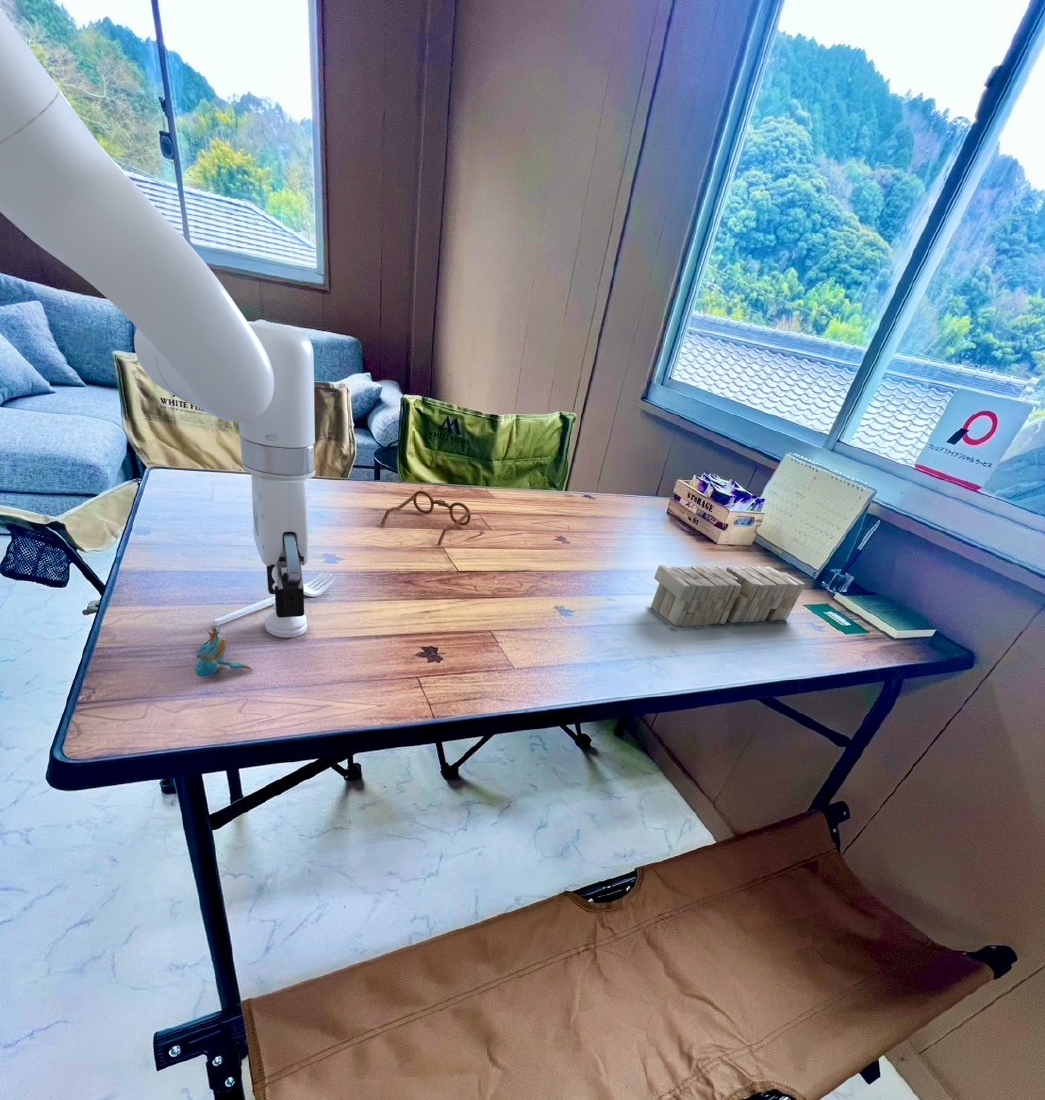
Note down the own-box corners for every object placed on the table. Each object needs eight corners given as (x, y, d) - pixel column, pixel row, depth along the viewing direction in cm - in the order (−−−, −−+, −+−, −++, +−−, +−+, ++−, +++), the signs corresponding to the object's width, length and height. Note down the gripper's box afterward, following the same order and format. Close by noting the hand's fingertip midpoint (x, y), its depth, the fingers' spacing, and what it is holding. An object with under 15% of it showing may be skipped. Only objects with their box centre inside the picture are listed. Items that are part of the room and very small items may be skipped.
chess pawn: (259, 622, 76) (255, 558, 71) (298, 616, 79) (296, 554, 74) (274, 641, 73) (270, 575, 68) (313, 634, 76) (312, 570, 71)
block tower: (757, 605, 117) (642, 605, 104) (776, 566, 113) (658, 561, 99) (786, 624, 112) (668, 627, 98) (807, 584, 107) (686, 581, 94)
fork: (205, 622, 74) (203, 609, 73) (322, 580, 89) (322, 568, 88) (223, 632, 73) (222, 619, 72) (338, 587, 88) (338, 576, 87)
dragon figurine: (149, 649, 66) (181, 653, 61) (200, 608, 69) (233, 609, 64) (191, 690, 70) (223, 698, 65) (237, 649, 73) (271, 653, 69)
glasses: (469, 529, 120) (473, 505, 117) (439, 546, 109) (442, 519, 107) (414, 511, 123) (416, 487, 120) (379, 525, 112) (380, 499, 109)
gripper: (232, 432, 68) (244, 575, 78) (252, 479, 57) (264, 640, 67) (299, 438, 72) (303, 574, 82) (331, 483, 60) (331, 635, 70)
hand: (285, 602), depth 74 cm, fingers open, 5 cm apart
